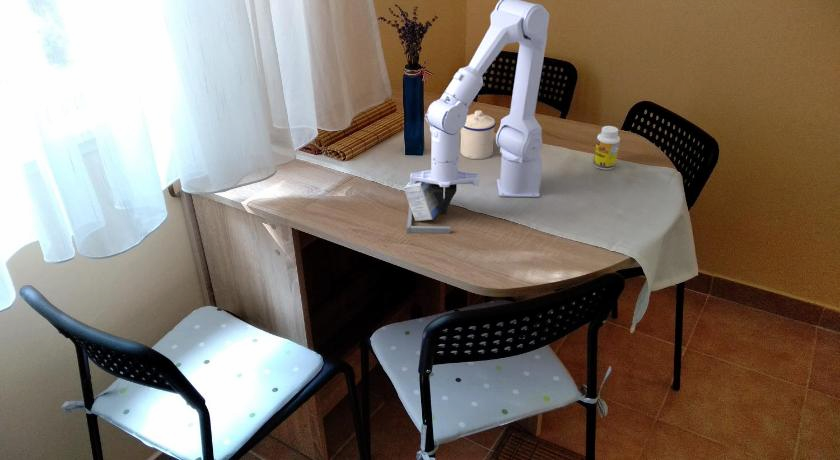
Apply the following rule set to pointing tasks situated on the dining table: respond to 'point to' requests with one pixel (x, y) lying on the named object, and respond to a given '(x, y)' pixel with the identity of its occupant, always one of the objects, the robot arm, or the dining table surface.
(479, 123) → the teacup with lid
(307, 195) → the dining table surface
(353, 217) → the dining table surface
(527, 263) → the dining table surface
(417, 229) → the grey bay
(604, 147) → the supplement bottle
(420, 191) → the medicine box
